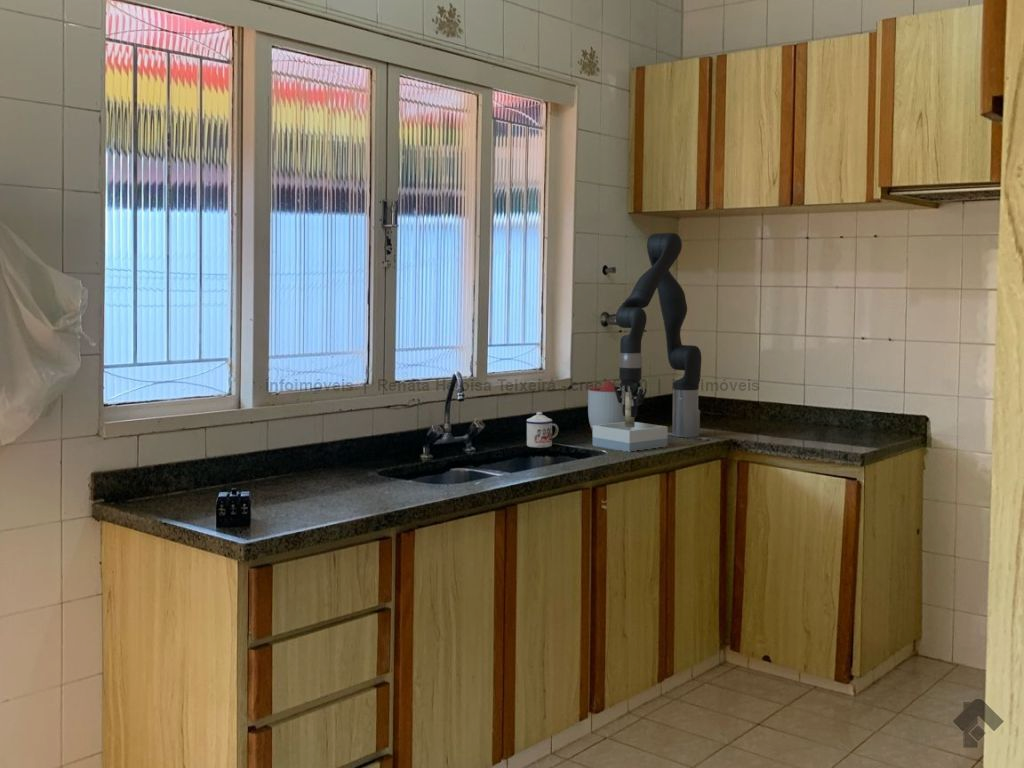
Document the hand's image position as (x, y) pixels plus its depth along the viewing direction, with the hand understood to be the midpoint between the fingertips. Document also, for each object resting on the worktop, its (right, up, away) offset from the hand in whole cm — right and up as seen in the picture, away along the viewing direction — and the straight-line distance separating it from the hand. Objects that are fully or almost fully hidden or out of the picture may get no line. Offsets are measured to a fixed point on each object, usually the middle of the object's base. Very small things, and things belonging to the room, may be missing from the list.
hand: (629, 416), depth 354 cm
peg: (0, -4, 0) cm, 4 cm away
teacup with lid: (-30, -10, +3) cm, 32 cm away
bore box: (0, -10, +1) cm, 10 cm away
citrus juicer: (-4, -8, +31) cm, 32 cm away
